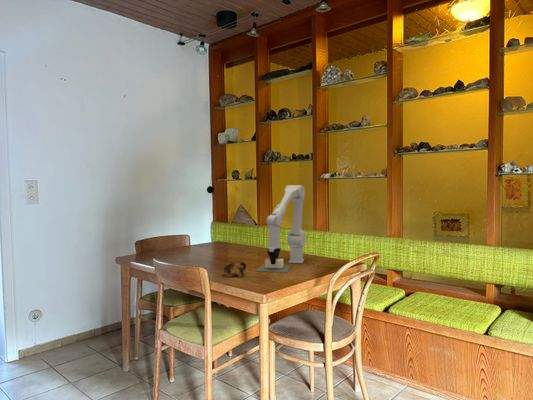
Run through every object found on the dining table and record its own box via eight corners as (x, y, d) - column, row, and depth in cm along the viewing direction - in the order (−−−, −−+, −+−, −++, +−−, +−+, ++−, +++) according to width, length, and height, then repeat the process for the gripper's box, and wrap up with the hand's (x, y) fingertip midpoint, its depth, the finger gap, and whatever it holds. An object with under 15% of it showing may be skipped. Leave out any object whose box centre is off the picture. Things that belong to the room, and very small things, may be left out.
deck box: (283, 266, 215) (283, 258, 215) (282, 268, 210) (281, 260, 210) (267, 265, 217) (267, 258, 217) (265, 267, 212) (265, 260, 212)
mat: (262, 264, 223) (262, 264, 223) (291, 266, 220) (291, 265, 220) (255, 271, 208) (255, 270, 208) (286, 272, 204) (286, 272, 204)
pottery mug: (235, 280, 192) (227, 264, 193) (226, 285, 199) (218, 270, 200) (253, 269, 200) (245, 255, 201) (243, 274, 207) (236, 260, 208)
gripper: (269, 235, 221) (269, 260, 222) (263, 239, 207) (263, 265, 207) (282, 235, 219) (282, 260, 220) (277, 239, 205) (277, 266, 206)
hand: (274, 263), depth 214 cm, fingers closed on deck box, 5 cm apart
